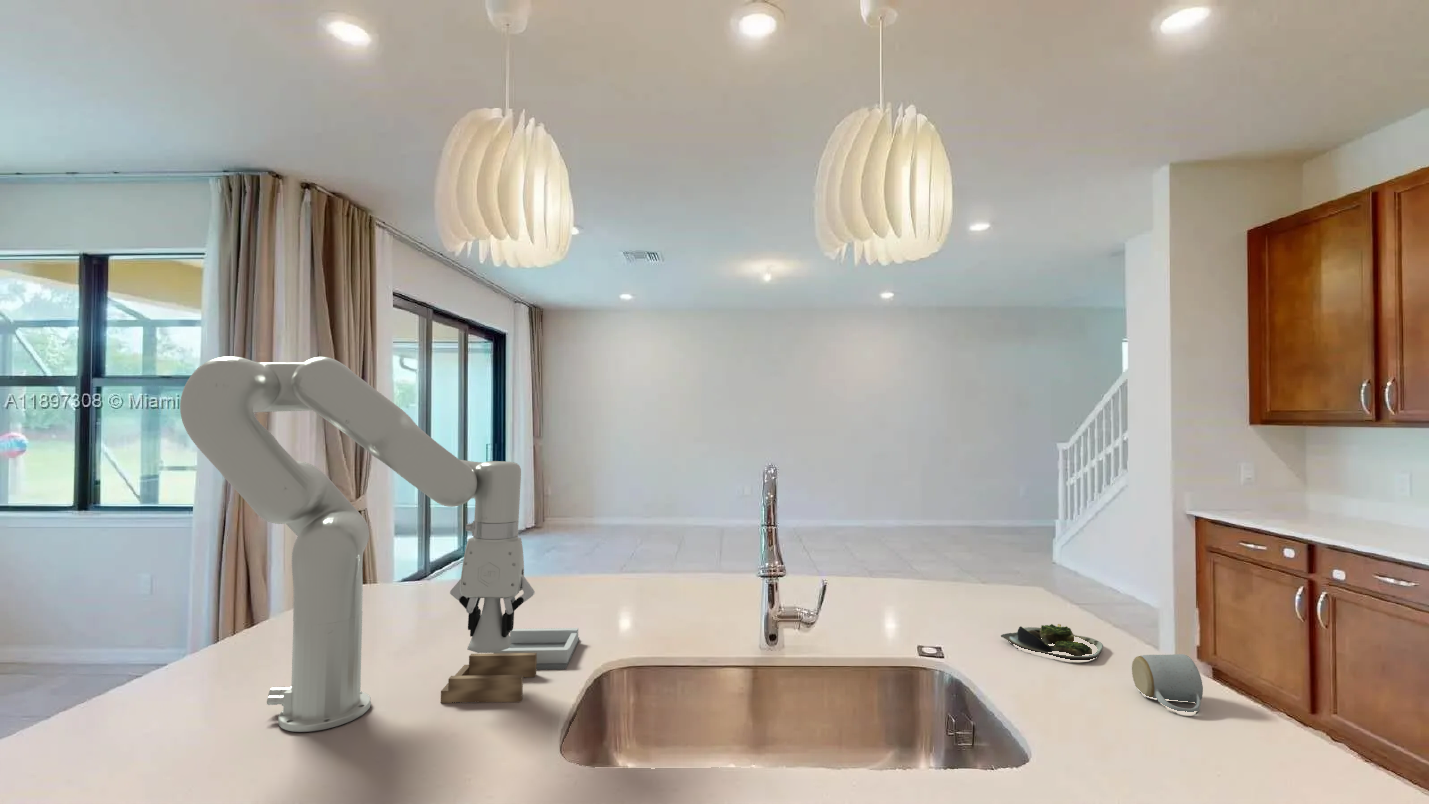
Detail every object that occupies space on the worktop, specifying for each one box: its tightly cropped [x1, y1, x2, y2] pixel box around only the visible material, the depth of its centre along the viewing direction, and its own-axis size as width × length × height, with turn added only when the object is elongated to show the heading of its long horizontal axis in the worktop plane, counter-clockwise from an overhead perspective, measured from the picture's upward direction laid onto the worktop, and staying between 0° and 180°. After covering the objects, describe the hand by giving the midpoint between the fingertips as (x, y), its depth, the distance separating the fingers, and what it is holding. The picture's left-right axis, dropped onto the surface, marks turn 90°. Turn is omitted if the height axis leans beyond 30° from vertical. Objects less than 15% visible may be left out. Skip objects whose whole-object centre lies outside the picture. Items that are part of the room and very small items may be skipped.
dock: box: [496, 627, 580, 671], centre depth 127 cm, size 14×16×3 cm
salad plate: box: [1000, 623, 1104, 660], centre depth 134 cm, size 19×18×5 cm
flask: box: [467, 598, 512, 654], centre depth 110 cm, size 7×7×10 cm
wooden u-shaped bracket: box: [440, 653, 537, 704], centre depth 110 cm, size 13×11×4 cm
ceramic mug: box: [1131, 653, 1204, 712], centre depth 106 cm, size 11×8×8 cm
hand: (490, 633), depth 110 cm, fingers closed on flask, 4 cm apart
